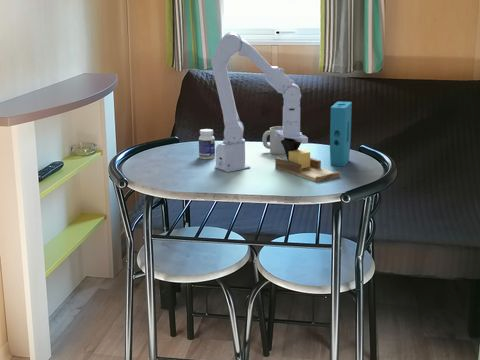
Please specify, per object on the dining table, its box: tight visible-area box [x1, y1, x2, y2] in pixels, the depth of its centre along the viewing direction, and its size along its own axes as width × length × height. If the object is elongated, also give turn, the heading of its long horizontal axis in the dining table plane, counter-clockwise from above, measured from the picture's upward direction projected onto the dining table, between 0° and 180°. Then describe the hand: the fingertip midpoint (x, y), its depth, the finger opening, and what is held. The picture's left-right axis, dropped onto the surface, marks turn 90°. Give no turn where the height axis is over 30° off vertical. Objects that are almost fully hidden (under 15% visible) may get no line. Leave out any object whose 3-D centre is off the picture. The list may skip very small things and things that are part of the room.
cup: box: [261, 125, 286, 156], centre depth 244 cm, size 7×10×9 cm
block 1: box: [289, 148, 311, 168], centre depth 221 cm, size 5×5×5 cm
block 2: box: [329, 101, 353, 167], centre depth 228 cm, size 12×5×20 cm, turn 160°
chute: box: [274, 156, 341, 183], centre depth 219 cm, size 9×21×4 cm, turn 35°
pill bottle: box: [198, 128, 216, 160], centre depth 238 cm, size 6×6×10 cm
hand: (291, 160), depth 225 cm, fingers closed
